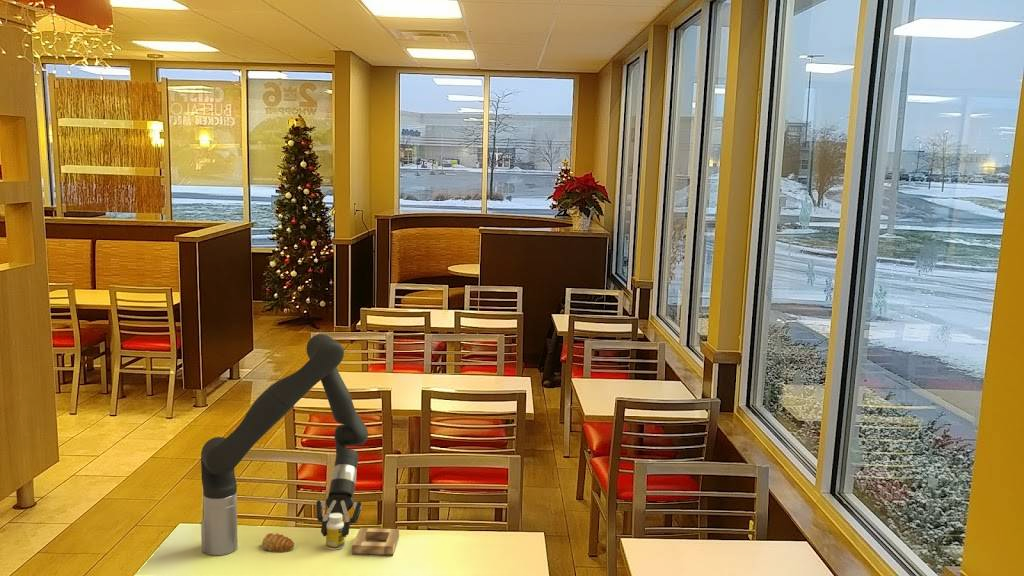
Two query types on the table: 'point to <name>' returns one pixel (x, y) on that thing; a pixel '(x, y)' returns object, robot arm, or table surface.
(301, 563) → the table surface
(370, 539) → the can holder
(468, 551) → the table surface
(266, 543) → the pastry
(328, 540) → the supplement bottle
